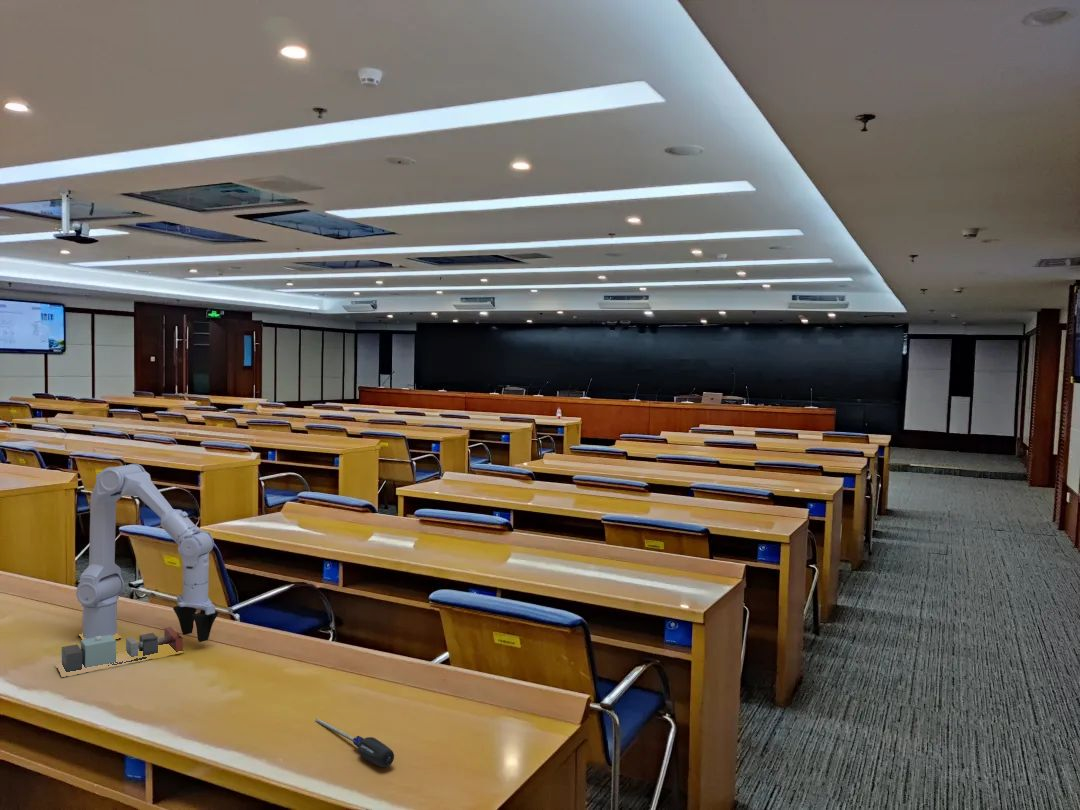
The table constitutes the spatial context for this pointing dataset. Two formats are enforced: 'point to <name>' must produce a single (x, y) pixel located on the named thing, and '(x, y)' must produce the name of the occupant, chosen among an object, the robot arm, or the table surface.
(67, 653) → the frame
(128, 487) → the robot arm
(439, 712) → the table surface
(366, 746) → the screwdriver
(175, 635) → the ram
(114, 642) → the block
